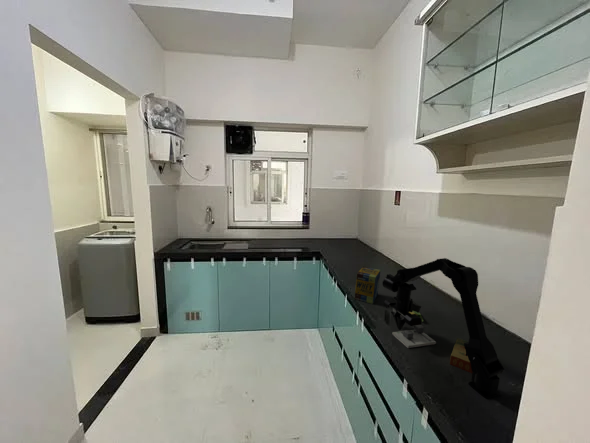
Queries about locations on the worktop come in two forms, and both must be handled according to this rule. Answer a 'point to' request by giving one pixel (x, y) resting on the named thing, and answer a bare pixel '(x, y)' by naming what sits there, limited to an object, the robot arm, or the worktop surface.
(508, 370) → the worktop surface
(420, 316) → the edible corn
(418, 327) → the block
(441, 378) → the worktop surface
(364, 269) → the protein box
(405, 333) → the breaker
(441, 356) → the worktop surface
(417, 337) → the breaker board
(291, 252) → the worktop surface
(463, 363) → the carton
